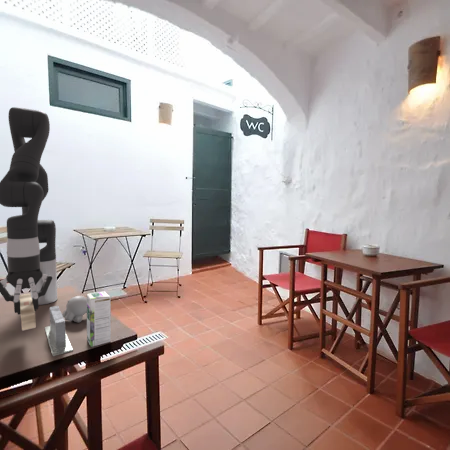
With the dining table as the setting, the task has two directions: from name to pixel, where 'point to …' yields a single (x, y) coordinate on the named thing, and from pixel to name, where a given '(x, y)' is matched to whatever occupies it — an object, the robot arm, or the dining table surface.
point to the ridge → (57, 333)
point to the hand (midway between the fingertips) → (26, 311)
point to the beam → (27, 312)
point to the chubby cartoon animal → (75, 309)
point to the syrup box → (98, 318)
